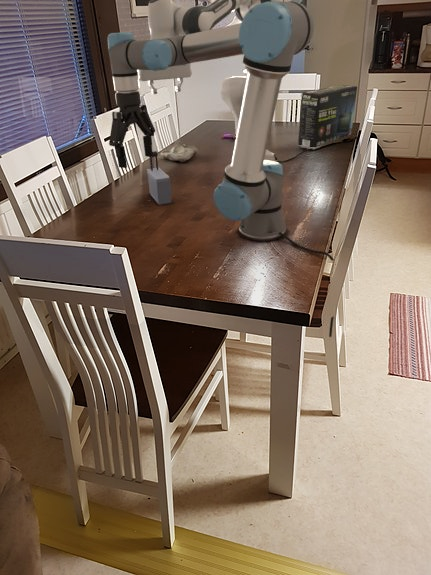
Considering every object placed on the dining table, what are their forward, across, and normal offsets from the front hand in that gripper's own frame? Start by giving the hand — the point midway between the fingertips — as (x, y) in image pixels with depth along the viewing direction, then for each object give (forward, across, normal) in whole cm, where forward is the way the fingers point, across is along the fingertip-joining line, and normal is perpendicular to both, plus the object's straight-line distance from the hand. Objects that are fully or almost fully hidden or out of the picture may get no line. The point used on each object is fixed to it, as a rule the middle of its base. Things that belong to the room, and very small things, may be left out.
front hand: (136, 161), depth 149 cm
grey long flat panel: (+13, -23, -10) cm, 28 cm away
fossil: (+21, -74, -35) cm, 85 cm away
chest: (+21, -23, -10) cm, 33 cm away
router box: (+22, -129, +22) cm, 133 cm away
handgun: (+21, -116, -26) cm, 121 cm away
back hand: (-16, -33, -10) cm, 38 cm away
